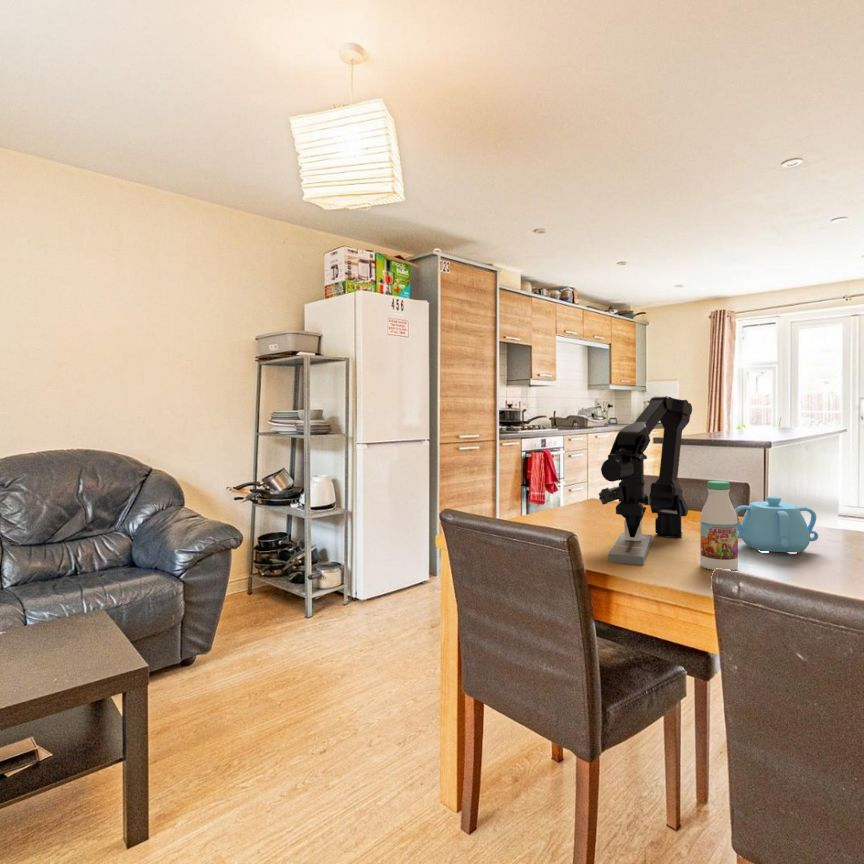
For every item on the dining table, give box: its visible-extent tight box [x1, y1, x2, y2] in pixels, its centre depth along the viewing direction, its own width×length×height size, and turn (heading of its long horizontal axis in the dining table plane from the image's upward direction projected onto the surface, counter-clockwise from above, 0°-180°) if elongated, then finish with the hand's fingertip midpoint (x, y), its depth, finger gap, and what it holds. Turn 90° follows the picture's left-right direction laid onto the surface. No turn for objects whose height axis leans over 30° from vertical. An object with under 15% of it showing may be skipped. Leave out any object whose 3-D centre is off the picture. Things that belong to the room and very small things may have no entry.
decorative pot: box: [734, 496, 819, 553], centre depth 142 cm, size 16×16×14 cm
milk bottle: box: [699, 480, 739, 571], centre depth 128 cm, size 8×8×20 cm
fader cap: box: [623, 519, 643, 541], centre depth 148 cm, size 4×3×5 cm
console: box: [607, 532, 653, 566], centre depth 144 cm, size 8×24×2 cm, turn 154°
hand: (633, 535), depth 148 cm, fingers closed on fader cap, 3 cm apart
